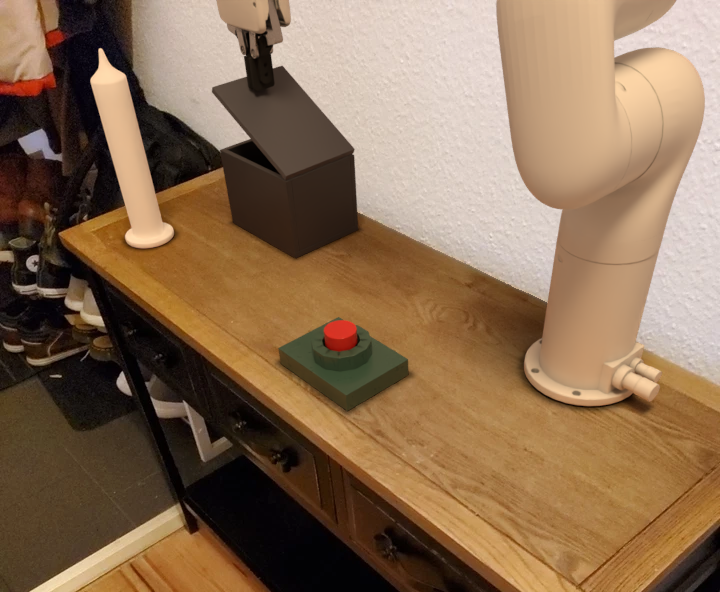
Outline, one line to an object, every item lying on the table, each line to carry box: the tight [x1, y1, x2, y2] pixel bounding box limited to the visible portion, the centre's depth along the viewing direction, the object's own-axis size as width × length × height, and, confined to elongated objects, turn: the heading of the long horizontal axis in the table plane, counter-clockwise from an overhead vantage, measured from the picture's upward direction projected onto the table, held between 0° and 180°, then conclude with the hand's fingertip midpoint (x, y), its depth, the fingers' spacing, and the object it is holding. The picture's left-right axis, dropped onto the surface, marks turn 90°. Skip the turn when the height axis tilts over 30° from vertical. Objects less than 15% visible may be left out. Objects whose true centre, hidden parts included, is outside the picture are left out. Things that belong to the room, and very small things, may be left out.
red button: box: [324, 319, 357, 352], centre depth 81 cm, size 4×4×2 cm
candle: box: [89, 47, 175, 249], centre depth 101 cm, size 7×7×25 cm
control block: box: [277, 316, 409, 412], centre depth 83 cm, size 12×9×4 cm
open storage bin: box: [219, 138, 359, 259], centre depth 106 cm, size 16×12×11 cm
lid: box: [211, 65, 356, 180], centre depth 99 cm, size 17×12×1 cm
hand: (261, 87), depth 99 cm, fingers closed
